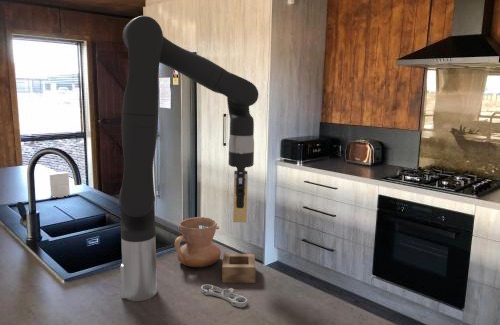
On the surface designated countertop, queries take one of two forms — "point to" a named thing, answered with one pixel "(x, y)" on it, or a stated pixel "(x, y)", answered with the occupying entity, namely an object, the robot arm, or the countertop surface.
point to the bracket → (227, 295)
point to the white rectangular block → (59, 184)
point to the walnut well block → (238, 268)
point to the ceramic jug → (197, 242)
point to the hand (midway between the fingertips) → (240, 205)
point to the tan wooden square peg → (240, 213)
